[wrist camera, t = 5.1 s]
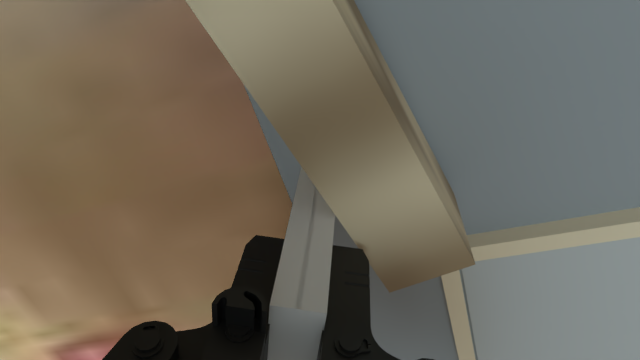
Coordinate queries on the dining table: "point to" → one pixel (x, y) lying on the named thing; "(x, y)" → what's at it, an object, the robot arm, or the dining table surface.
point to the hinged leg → (346, 128)
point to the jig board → (517, 176)
